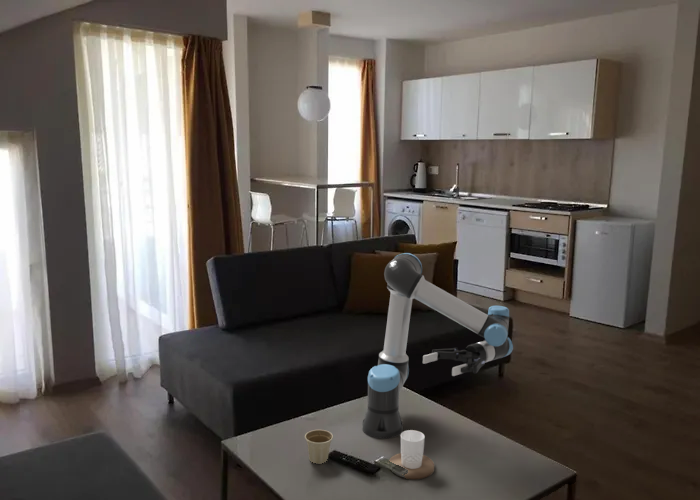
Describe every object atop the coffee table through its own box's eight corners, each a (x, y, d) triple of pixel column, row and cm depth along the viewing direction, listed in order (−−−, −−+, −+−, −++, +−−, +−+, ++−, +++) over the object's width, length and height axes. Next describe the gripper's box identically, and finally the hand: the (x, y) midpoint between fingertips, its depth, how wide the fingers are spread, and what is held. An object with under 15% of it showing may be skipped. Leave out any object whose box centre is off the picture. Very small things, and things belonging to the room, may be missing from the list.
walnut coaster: (379, 464, 200) (379, 461, 200) (411, 451, 209) (412, 447, 209) (410, 484, 189) (410, 481, 188) (443, 469, 198) (443, 466, 198)
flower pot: (337, 456, 205) (337, 433, 203) (324, 469, 197) (325, 445, 195) (313, 450, 209) (313, 427, 207) (299, 463, 200) (299, 439, 199)
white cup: (422, 471, 194) (423, 442, 192) (398, 468, 196) (399, 439, 194) (424, 459, 202) (425, 431, 200) (401, 456, 203) (402, 428, 202)
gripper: (506, 374, 207) (465, 388, 194) (452, 353, 226) (411, 365, 213) (508, 353, 205) (466, 366, 192) (453, 334, 225) (412, 345, 212)
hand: (437, 365), depth 203 cm, fingers open, 13 cm apart
